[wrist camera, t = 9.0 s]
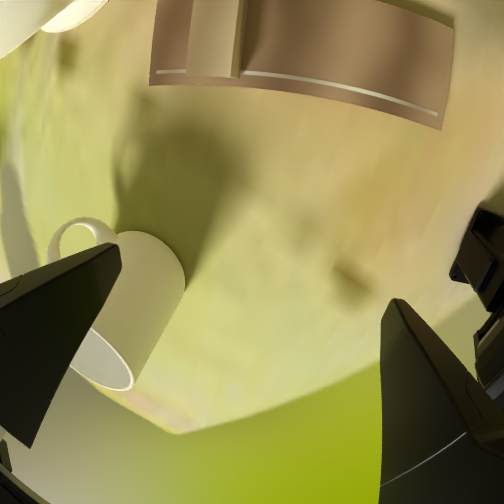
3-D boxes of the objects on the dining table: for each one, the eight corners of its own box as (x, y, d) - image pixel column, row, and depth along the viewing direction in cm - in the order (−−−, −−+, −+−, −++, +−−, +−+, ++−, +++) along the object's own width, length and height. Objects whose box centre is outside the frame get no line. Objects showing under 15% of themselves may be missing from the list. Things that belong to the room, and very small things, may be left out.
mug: (138, 176, 21) (40, 244, 12) (204, 297, 26) (157, 395, 17) (78, 212, 24) (-1, 275, 15) (139, 309, 29) (88, 386, 20)
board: (441, 33, 11) (454, 29, 9) (429, 126, 15) (441, 131, 13) (172, -3, 13) (159, -11, 11) (163, 85, 17) (148, 85, 15)
